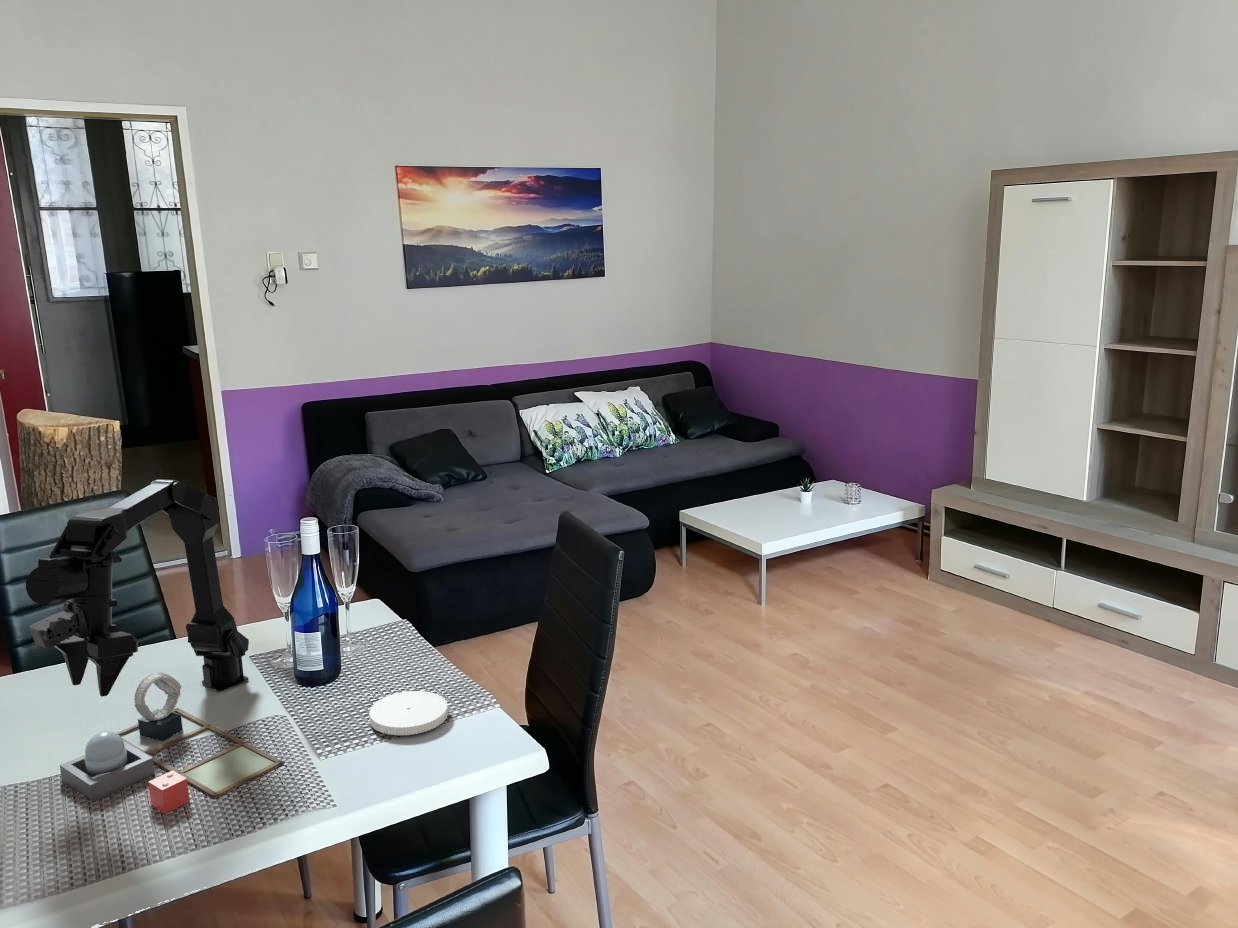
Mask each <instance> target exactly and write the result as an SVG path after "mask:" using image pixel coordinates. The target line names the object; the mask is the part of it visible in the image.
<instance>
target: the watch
mask: <svg viewBox="0 0 1238 928" xmlns="http://www.w3.org/2000/svg"><path fill="white" fill-rule="evenodd" d="M152 685H155V686H156V687H157V688H158V689H159V690H160V691H162V692H164V694H165V695H166V696H167V698H166V701H165V703H164V705H163V707H162V708H161V709H160V708H156V709H154V710H152V711H151V710H150V708H149V705H147V703H146V700H145V698H146V695H147V692H148V690H149V689H150V687H151V686H152ZM181 689H182V685H181V683H180V682H179V680H177V679H176V678H174V677H173V676H171V675H170V674H167V673H165V672H157V673H151V674H149V675H146V676H145V677H144V678H143V679H142V680H141V681H140V682H139V684H138V686H137V687H136V691H135V694H134V703H135V704H134V707H135V709H136V711H137V712H138V714H139V715H140V716H141V717H140V718H139V719H137V722H138V723H137V724H138V725H139V728H138V731H139V736H140V737H144V738H147V739H152V740H156V741H161V742H166V741H167V740H169V739H170V738H172V737H173V736H176V735H177V734H179V733H180V732H182V731H183V729H184V728H183V720H182V719H183V718H182V715H181V714H178V713H174V712H172V711H173V710H174V709H176V708H177V704H178V702H179V698H180V697H181Z"/></svg>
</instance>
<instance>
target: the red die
mask: <svg viewBox="0 0 1238 928" xmlns="http://www.w3.org/2000/svg"><path fill="white" fill-rule="evenodd" d="M147 783H148V790H149V791H148V792H149V797H150V805H151V806H152V807H154V808H155V809H157V810H159V811H160V812H162V813H164V814H168V813H169V812H172V811H174V810H175V809H177V808H179V807H181V806H183V805H185V804H187V803H189V802H191V801H190V794H189V793H190V792H189V783H188V782H187V778H185V777H184V776H182V775H180V774H179V773H177V772H175V771H170V772H168V771H167V772H166V773H164V774H162V775H159V776H158V777H155V778H153V779H150V780H149V781H148V782H147Z"/></svg>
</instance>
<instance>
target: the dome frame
mask: <svg viewBox="0 0 1238 928" xmlns="http://www.w3.org/2000/svg"><path fill="white" fill-rule="evenodd" d="M123 742H124V746H125V747H126V751H127V759H128V760H127V763H126V764H125V765H124V766H123V767H121V768H119V769H117V770H115V771H112V772H109V773H104V774H91V773H89V772H87V771H86V766H85V759H84V757H85V754H84V755H81V756H78V757H76V758H74V759H72V760H71V759H70V760H68V761H66V762H63V763H62V764H59V769H60V776H61V781H62V783H63V784H65V785H66V786H67V787H69V788H70V789H72V790H74V792H76V793H78V792H79V793H80V795H81V794H82V795H83V796H82V795H81V796H82V797H84V798H85V797H86V798H85V799H86V800H88V799H89V800H88V801H90V802H91V801H92V802H91V803H94V801H95V802H96V800H97V801H99V800H101V798H102V799H104V798H106V797H108V796H110V795H112V793H113V794H115V793H117V792H119V791H122V790H124V789H125V788H127V787H129V786H133V785H134V784H136V783H139V782H140V781H144V780H146V779H147V778H150V777H152V776H154V775H156V773H155V772H156V771H155V765H154V763H153V757H151V756H149V755H147V754H146V753H144V752H142V751H141V750H139V749H137V748H135V747H134V746H132V745H130V744H128V743H127V742H125V741H123ZM114 792H115V793H114ZM79 793H78V794H79Z"/></svg>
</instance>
